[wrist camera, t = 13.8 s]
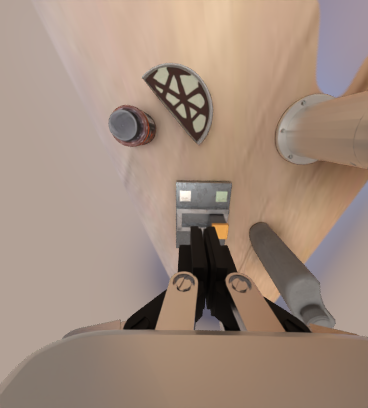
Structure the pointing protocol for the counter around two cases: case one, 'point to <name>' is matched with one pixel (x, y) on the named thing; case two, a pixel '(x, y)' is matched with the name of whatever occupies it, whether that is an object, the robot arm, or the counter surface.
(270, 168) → the counter surface
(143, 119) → the supplement bottle
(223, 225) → the lever
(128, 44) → the counter surface
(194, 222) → the panel
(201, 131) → the food container
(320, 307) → the flask
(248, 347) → the robot arm
